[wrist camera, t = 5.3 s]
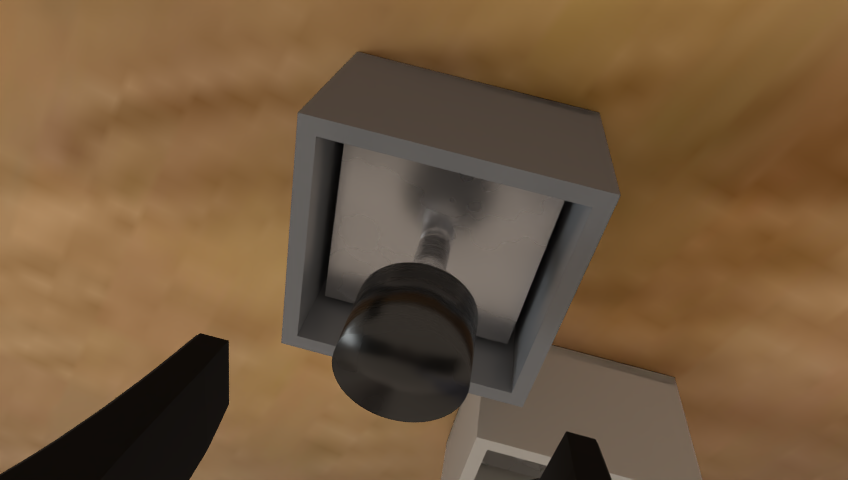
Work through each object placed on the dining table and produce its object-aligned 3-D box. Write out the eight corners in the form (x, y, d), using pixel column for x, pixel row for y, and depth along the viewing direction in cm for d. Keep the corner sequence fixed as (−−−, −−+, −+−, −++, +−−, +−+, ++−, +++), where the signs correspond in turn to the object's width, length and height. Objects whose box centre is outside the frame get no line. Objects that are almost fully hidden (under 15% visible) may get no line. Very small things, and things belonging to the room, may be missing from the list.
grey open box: (599, 112, 18) (620, 195, 13) (525, 298, 23) (522, 407, 18) (357, 51, 18) (297, 112, 14) (332, 248, 23) (281, 342, 18)
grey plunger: (571, 171, 16) (586, 308, 11) (508, 332, 20) (498, 489, 15) (352, 115, 16) (270, 225, 11) (330, 284, 20) (261, 424, 15)
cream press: (674, 377, 23) (707, 499, 19) (602, 484, 28) (615, 603, 23) (488, 328, 24) (476, 437, 19) (446, 441, 28) (429, 551, 24)
